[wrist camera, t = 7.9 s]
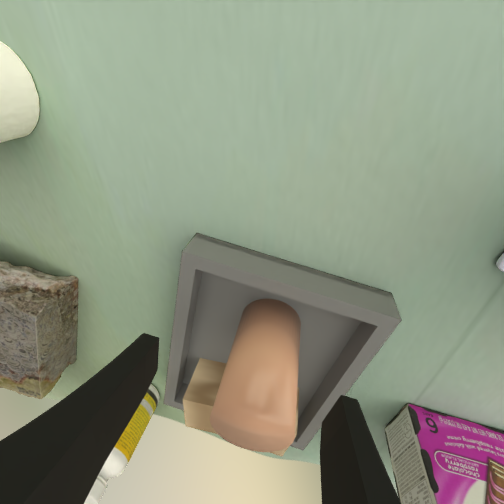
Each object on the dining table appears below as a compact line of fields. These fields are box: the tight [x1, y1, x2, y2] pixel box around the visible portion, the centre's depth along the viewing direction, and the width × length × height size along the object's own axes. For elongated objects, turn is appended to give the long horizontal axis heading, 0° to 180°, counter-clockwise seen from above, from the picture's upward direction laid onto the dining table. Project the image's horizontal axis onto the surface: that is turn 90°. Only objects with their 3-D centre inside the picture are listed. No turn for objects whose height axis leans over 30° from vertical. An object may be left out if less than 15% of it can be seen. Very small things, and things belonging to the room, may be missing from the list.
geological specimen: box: [0, 261, 78, 399], centre depth 26 cm, size 11×6×15 cm
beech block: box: [183, 358, 227, 434], centre depth 25 cm, size 4×4×4 cm
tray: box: [164, 233, 402, 450], centre depth 23 cm, size 14×18×3 cm
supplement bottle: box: [84, 384, 160, 504], centre depth 27 cm, size 5×5×10 cm
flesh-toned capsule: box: [210, 299, 301, 452], centre depth 18 cm, size 5×5×8 cm
